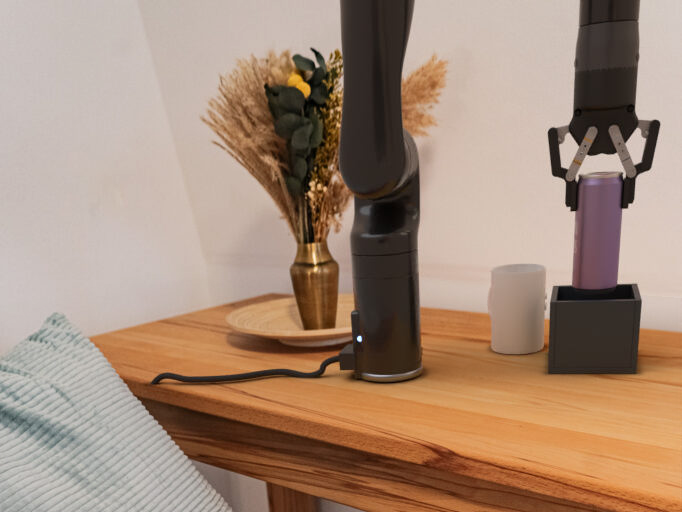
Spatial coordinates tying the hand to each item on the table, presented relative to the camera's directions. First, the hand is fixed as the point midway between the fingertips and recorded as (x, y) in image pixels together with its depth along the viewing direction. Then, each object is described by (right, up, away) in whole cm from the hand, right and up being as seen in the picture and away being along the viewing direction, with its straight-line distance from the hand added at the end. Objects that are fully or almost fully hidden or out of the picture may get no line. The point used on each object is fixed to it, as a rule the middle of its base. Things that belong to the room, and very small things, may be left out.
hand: (598, 209), depth 111 cm
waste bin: (+2, -19, +9) cm, 21 cm away
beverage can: (+1, -10, +5) cm, 11 cm away
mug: (-7, -14, +21) cm, 26 cm away
